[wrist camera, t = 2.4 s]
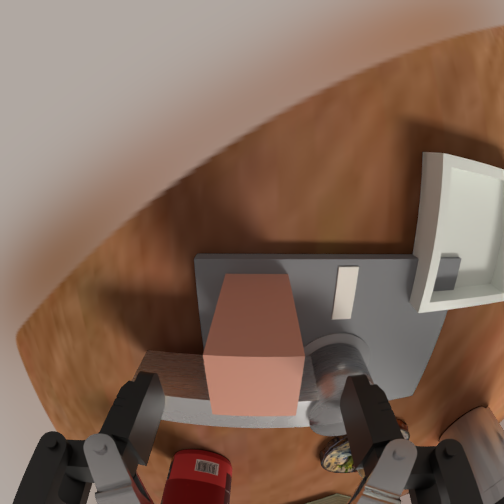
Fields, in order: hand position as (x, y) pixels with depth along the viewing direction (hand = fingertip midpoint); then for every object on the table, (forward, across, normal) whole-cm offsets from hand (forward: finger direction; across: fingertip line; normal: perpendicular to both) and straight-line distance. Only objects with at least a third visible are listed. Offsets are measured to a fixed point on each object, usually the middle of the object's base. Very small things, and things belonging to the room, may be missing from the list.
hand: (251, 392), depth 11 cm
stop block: (+8, 0, 0) cm, 8 cm away
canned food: (+9, +7, +26) cm, 29 cm away
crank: (+8, 0, +6) cm, 10 cm away
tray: (+9, -17, -5) cm, 20 cm away
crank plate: (+9, -6, +5) cm, 12 cm away
